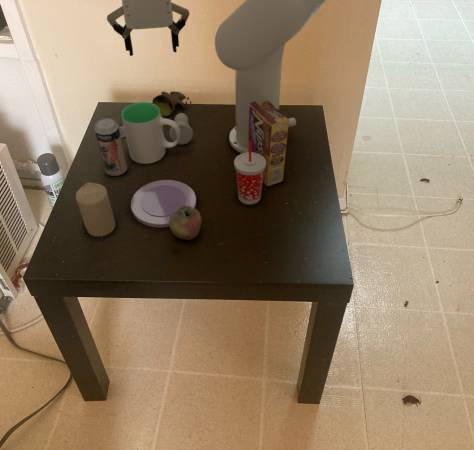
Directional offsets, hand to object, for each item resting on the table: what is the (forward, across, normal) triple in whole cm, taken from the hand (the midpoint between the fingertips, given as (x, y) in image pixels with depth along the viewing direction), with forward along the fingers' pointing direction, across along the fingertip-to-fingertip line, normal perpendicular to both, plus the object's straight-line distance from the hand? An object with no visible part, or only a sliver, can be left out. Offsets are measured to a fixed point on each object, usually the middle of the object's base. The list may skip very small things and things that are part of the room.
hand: (153, 51), depth 108 cm
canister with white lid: (+17, +11, +20) cm, 28 cm away
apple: (+16, -2, +42) cm, 45 cm away
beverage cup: (+16, -16, +34) cm, 41 cm away
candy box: (+16, -20, +27) cm, 37 cm away
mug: (+16, +2, +16) cm, 23 cm away
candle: (+16, +14, +37) cm, 43 cm away
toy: (+14, 0, +1) cm, 14 cm away
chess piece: (+14, -4, +14) cm, 20 cm away
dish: (+16, +2, +33) cm, 37 cm away
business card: (+17, +10, +6) cm, 20 cm away
